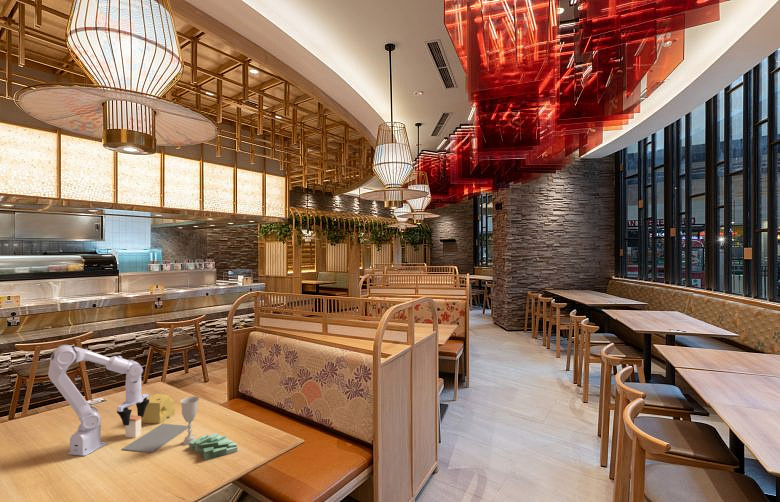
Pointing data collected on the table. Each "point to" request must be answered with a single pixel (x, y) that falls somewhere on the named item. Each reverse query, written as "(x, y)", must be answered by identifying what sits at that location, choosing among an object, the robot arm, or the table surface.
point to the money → (213, 446)
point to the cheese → (158, 409)
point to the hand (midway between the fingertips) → (133, 420)
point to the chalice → (189, 415)
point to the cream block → (133, 427)
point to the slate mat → (155, 438)
